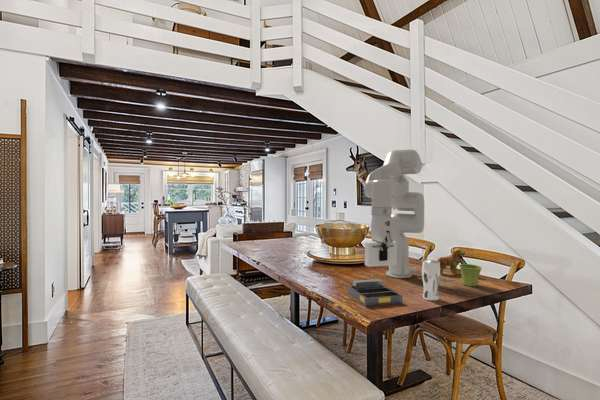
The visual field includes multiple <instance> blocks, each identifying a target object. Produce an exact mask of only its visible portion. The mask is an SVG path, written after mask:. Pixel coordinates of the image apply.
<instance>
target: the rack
mask: <svg viewBox="0 0 600 400" xmlns="http://www.w3.org/2000/svg"><path fill="white" fill-rule="evenodd" d="M383 282H384V281H383V280H382V279H380V278H372V279H359V280H352V285H348V286H347V293H348V294H349V296H351V297H353V298H354V299H355V300H357V301H358V303H361V304H362V305H363V306H364V307H366V308H367V307H377V306H378V307H379V306H389V305H398V304H399V305H401V304H403V295H402V294H400V293H398V292H397V291H395V290H393V289H392V288H390V287H388V286H386V285H384V284H383Z"/></svg>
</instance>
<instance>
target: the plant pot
mask: <svg viewBox="0 0 600 400" xmlns="http://www.w3.org/2000/svg"><path fill="white" fill-rule="evenodd" d="M458 266H459V269H460V273H461V281H462V282H461V283H462V285H464V286H466V287H467V286H468V287H472V286H473V288H474V287H477V286H478V284H479V278H480V274H481V271H482V269H483V267H482V266H480V265H477V264H471V263H470V264H469V263H462V264H460V263H459V264H458Z"/></svg>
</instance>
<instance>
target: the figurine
mask: <svg viewBox="0 0 600 400" xmlns="http://www.w3.org/2000/svg"><path fill="white" fill-rule="evenodd" d="M465 254H466V252H465V251H462V249H460V248H454V249H453V251H452V253H451V254H450V255H447V256H440V257H439V258H437V259H436V261H439V262H440V276H444V275H445V273H443V272H444V270H445V269H447V267H449V270H450V271H451V273H452V274H454V275H460V273H459V272H458V271H457V267H458V266H459V265H460V263H461V259H462V258H461V256H464V255H465Z"/></svg>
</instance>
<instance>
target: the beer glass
mask: <svg viewBox="0 0 600 400" xmlns="http://www.w3.org/2000/svg"><path fill="white" fill-rule="evenodd" d="M421 279H422V286H423V291H422V297H421V298H422V299H424V300H426V301H430V302H431V301H432V302H436V301H439V299H440V298H439V283H440V279H441V275H440V262H439V261H437V259H423V260H422V261H421Z"/></svg>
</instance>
